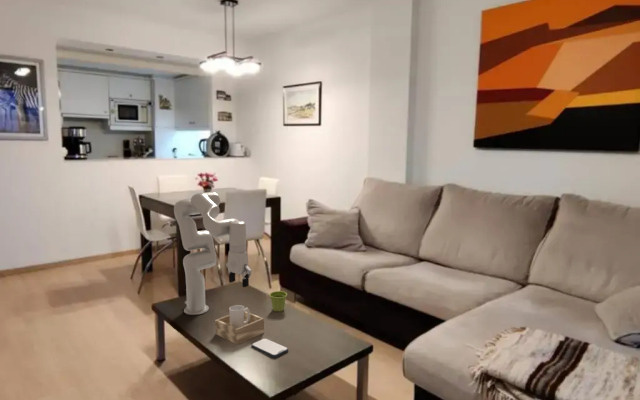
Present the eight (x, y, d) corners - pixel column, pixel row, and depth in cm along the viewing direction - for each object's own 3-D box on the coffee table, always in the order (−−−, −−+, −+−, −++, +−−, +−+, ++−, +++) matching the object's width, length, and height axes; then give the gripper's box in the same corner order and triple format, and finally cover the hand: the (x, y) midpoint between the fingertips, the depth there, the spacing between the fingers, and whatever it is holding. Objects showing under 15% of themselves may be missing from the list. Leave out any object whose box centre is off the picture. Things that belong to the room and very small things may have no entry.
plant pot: (290, 308, 228) (290, 293, 227) (279, 314, 221) (279, 298, 219) (277, 305, 233) (276, 290, 232) (266, 310, 226) (265, 295, 224)
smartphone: (249, 347, 186) (274, 359, 176) (249, 344, 186) (274, 355, 176) (265, 340, 193) (289, 351, 182) (265, 337, 193) (289, 348, 182)
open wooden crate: (215, 334, 198) (215, 320, 197) (242, 323, 210) (242, 309, 209) (237, 344, 188) (237, 329, 187) (264, 332, 200) (263, 318, 199)
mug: (233, 336, 193) (232, 311, 191) (227, 331, 199) (227, 307, 197) (253, 331, 199) (252, 307, 197) (247, 326, 204) (247, 302, 202)
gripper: (219, 246, 196) (220, 282, 198) (243, 253, 185) (244, 290, 187) (232, 243, 202) (233, 278, 204) (256, 249, 190) (257, 286, 193)
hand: (238, 284), depth 196 cm, fingers open, 9 cm apart
